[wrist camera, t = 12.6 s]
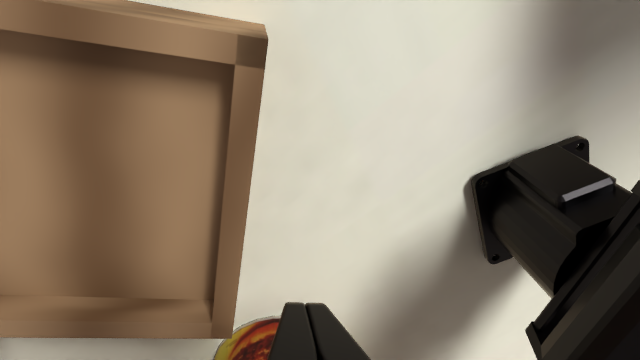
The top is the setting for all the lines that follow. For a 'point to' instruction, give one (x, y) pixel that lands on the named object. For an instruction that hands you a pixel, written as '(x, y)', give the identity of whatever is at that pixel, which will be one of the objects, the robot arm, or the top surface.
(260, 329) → the canned food
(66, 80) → the wooden tray
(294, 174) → the top surface
